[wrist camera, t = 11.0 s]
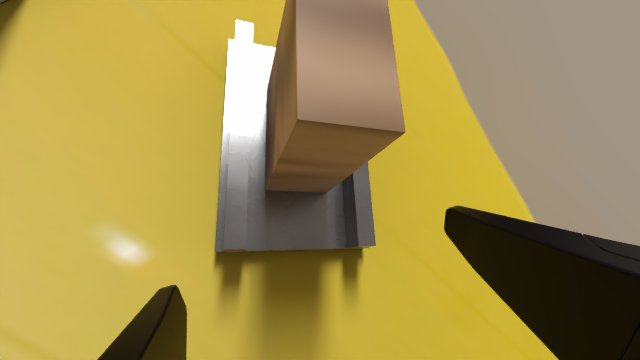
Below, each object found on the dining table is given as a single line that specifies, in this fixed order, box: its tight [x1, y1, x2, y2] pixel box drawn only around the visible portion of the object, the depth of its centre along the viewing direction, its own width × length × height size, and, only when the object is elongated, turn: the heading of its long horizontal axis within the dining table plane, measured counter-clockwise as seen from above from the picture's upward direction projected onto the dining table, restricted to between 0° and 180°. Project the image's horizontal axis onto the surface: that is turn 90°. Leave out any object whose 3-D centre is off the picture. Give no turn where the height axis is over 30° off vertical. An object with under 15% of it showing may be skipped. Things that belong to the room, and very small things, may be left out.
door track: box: [215, 20, 376, 253], centre depth 21 cm, size 16×10×3 cm, turn 2°
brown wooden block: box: [265, 0, 405, 193], centre depth 17 cm, size 8×4×10 cm, turn 2°
